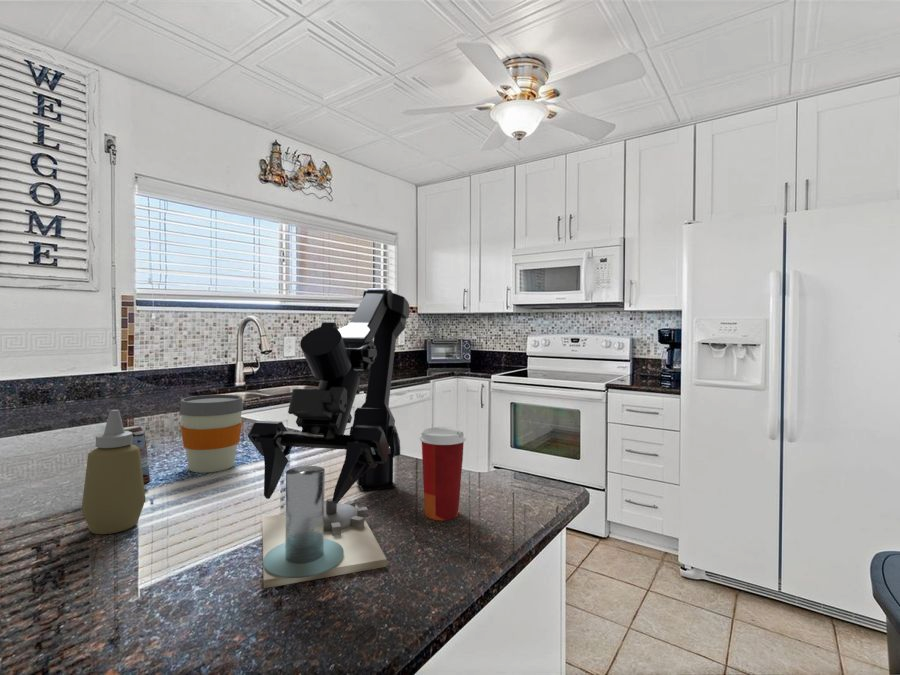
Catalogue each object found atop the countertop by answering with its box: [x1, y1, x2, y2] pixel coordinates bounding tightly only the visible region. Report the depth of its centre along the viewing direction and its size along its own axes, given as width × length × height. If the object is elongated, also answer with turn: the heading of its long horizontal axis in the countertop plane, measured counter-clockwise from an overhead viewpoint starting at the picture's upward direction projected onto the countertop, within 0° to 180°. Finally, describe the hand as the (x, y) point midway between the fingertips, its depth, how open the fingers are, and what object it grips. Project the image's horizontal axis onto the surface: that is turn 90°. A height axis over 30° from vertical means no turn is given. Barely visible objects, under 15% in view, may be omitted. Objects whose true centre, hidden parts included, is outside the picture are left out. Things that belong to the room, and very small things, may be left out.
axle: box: [285, 465, 326, 564], centre depth 62 cm, size 5×5×11 cm
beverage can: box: [124, 425, 151, 488], centre depth 89 cm, size 6×7×12 cm
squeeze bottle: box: [81, 409, 147, 535], centre depth 73 cm, size 8×8×18 cm
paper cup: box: [418, 426, 466, 522], centre depth 80 cm, size 8×8×14 cm
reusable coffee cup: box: [179, 394, 244, 473], centre depth 105 cm, size 13×12×15 cm
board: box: [261, 497, 388, 589], centre depth 69 cm, size 16×22×4 cm
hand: (300, 499), depth 61 cm, fingers open, 9 cm apart
